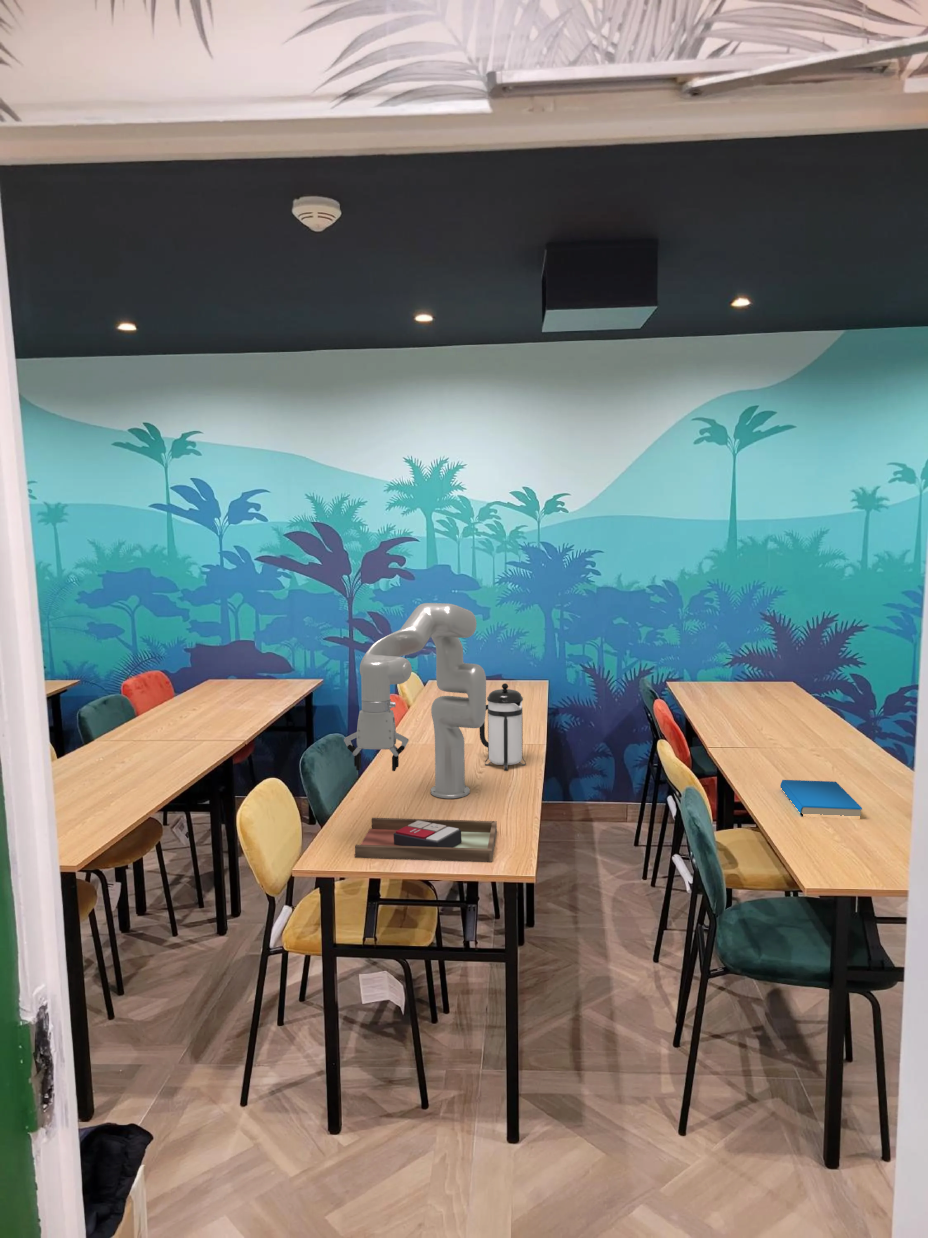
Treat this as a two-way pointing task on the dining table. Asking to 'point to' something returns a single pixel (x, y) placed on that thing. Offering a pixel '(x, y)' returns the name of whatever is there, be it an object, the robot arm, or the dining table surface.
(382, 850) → the brown wooden tray
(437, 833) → the calculator
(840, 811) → the book
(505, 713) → the coffee press
